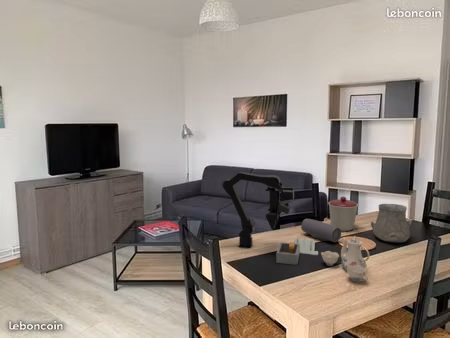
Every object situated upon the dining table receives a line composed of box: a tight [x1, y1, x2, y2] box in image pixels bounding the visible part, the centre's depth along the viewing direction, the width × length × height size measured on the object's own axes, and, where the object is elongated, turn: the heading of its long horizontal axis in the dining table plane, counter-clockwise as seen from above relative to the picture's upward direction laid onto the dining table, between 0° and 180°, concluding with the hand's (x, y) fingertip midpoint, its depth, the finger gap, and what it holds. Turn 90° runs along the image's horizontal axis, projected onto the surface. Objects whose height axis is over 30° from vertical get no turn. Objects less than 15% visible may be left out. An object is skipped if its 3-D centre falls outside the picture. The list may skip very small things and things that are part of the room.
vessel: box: [370, 203, 412, 244], centre depth 193 cm, size 22×22×20 cm
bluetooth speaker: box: [300, 218, 342, 243], centre depth 199 cm, size 23×9×10 cm, turn 35°
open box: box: [275, 242, 301, 266], centre depth 171 cm, size 10×15×5 cm, turn 163°
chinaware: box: [320, 235, 370, 283], centre depth 155 cm, size 28×17×17 cm, turn 27°
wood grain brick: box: [283, 241, 295, 254], centre depth 171 cm, size 6×5×7 cm
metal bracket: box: [293, 237, 319, 256], centre depth 182 cm, size 14×6×15 cm
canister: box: [327, 196, 359, 232], centre depth 215 cm, size 18×18×21 cm
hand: (274, 227), depth 183 cm, fingers open, 9 cm apart
